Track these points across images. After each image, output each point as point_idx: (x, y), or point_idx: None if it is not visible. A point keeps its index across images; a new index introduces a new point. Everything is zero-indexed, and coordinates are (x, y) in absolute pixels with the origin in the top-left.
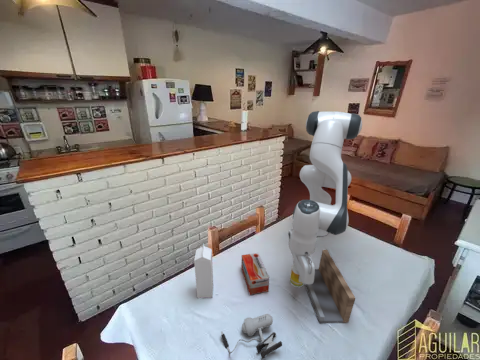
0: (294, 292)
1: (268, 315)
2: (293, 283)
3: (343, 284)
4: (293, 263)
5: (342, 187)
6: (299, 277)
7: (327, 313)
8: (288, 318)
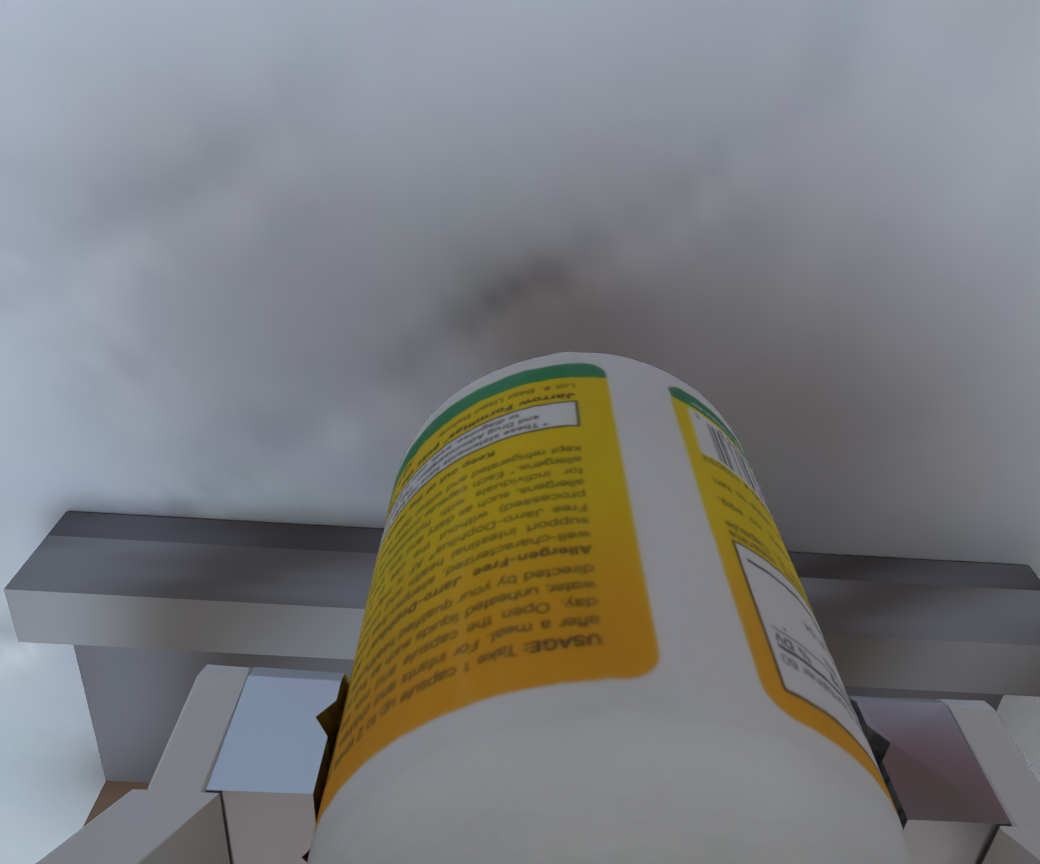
0: (609, 339)
1: None
2: (444, 429)
3: None
4: (1017, 785)
5: None
6: (109, 839)
7: (184, 665)
8: (70, 60)
